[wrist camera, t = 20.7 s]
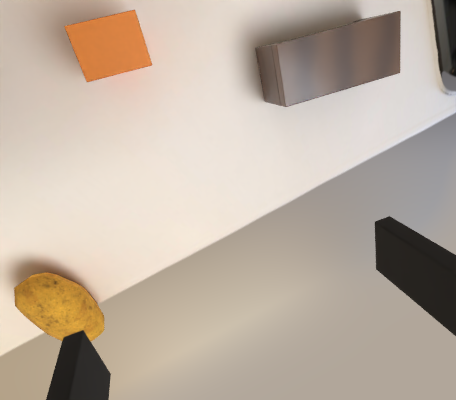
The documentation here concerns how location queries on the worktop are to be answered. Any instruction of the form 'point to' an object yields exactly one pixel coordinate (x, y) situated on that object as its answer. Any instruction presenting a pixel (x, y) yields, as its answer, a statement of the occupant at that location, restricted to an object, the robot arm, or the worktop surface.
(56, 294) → the potato
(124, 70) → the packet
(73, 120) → the worktop surface
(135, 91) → the worktop surface
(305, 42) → the shelf
